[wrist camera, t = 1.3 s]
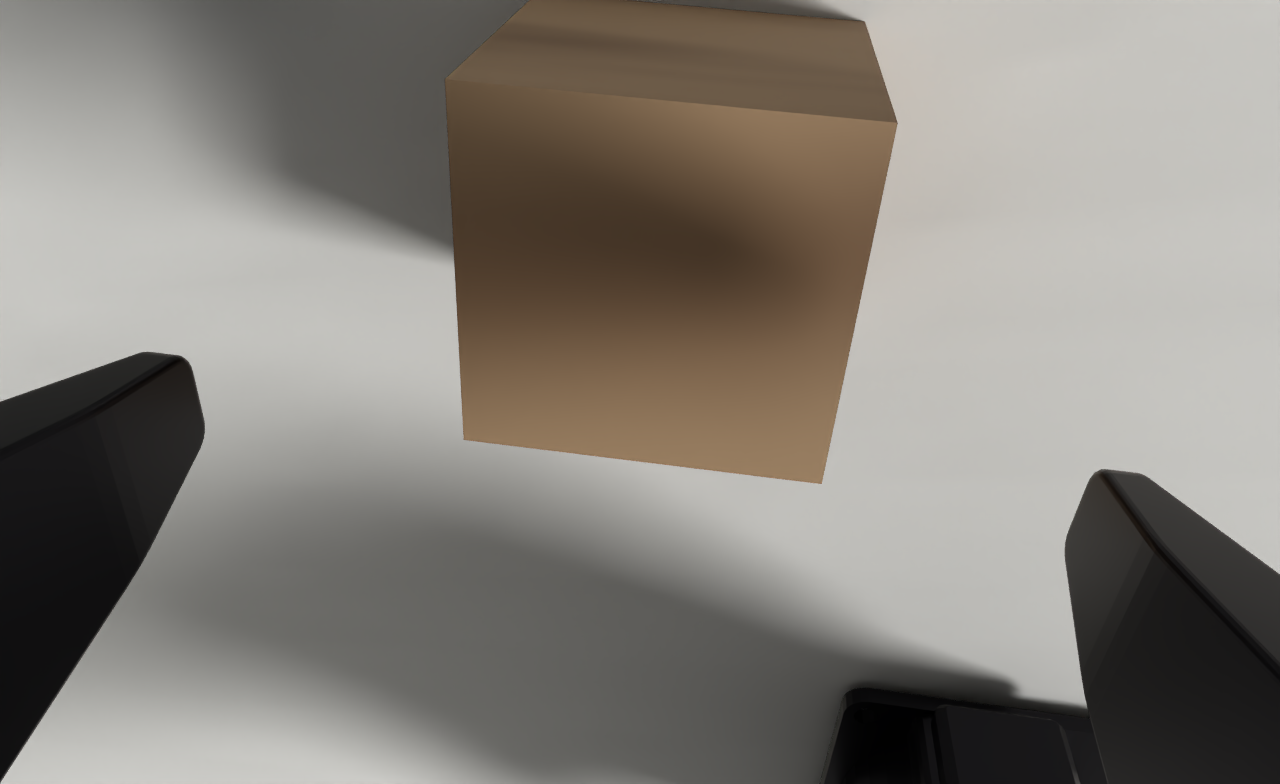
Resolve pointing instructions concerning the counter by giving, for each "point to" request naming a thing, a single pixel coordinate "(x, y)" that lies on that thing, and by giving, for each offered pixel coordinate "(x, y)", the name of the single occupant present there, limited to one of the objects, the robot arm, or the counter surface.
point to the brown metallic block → (664, 230)
